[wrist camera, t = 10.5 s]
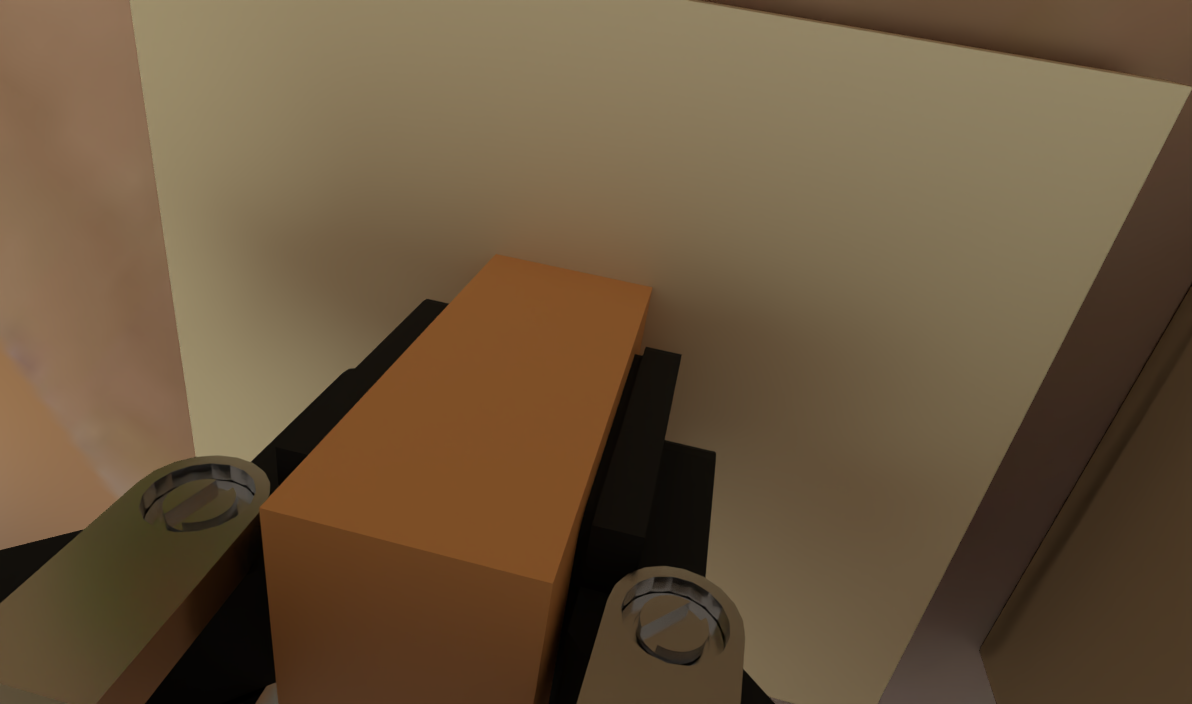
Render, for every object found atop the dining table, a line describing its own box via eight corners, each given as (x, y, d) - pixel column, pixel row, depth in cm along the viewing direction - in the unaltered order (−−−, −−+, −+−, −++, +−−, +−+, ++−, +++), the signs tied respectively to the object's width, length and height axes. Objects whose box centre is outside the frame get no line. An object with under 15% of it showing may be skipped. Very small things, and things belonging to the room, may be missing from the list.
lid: (1166, 79, 9) (1911, 275, 3) (863, 696, 14) (933, 1173, 9) (147, -95, 10) (-622, -177, 5) (227, 528, 16) (-77, 845, 10)
